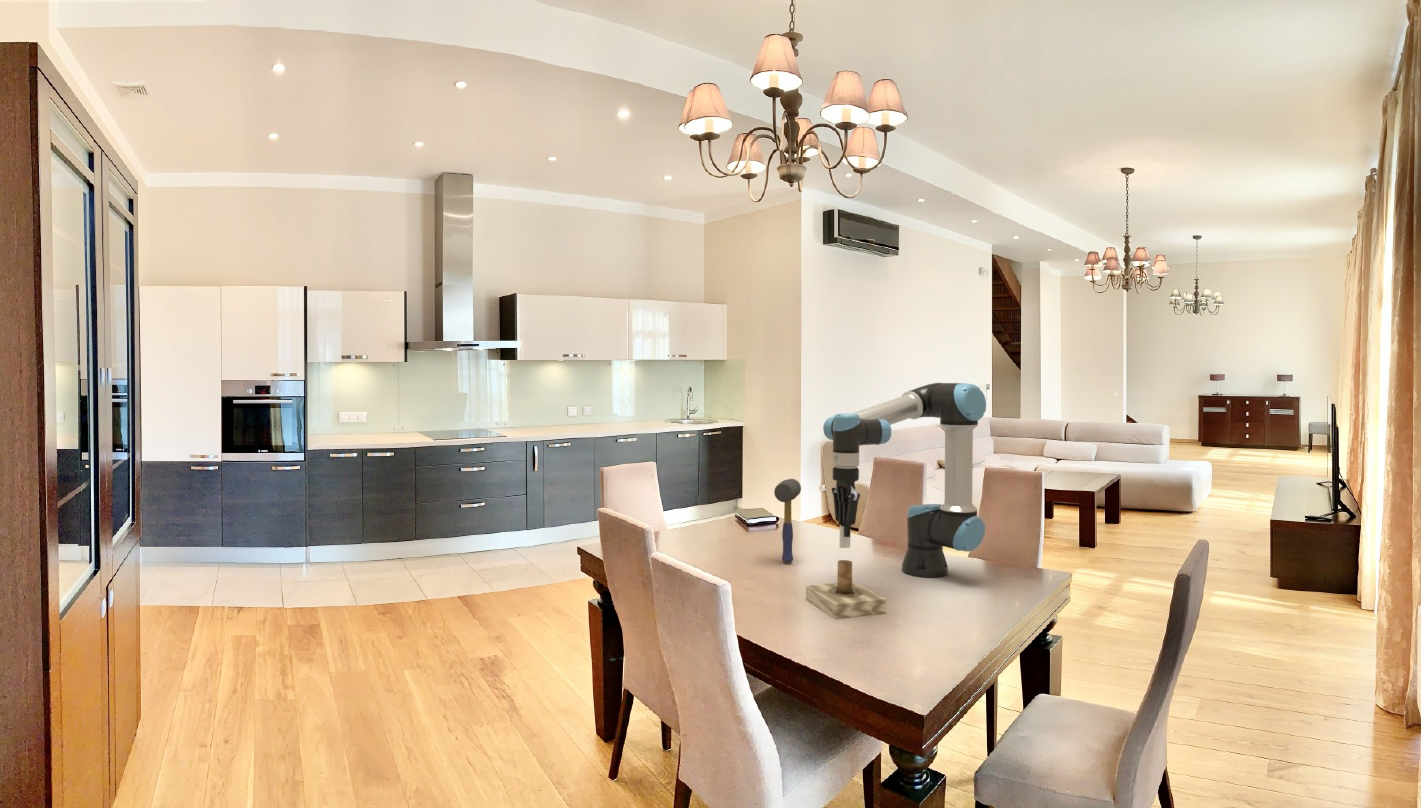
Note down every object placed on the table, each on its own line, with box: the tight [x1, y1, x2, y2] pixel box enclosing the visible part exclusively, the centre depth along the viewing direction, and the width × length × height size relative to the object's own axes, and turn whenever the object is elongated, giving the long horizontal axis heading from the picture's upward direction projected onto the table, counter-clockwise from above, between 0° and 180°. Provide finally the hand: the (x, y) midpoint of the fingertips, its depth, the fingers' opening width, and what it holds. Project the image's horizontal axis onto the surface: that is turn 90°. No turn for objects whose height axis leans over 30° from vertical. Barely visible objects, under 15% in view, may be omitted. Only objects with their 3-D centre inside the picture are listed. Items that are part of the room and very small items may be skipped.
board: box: [805, 580, 887, 619], centre depth 223 cm, size 16×19×4 cm
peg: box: [836, 559, 853, 595], centre depth 222 cm, size 4×4×13 cm
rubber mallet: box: [773, 478, 802, 565], centre depth 271 cm, size 12×8×30 cm, turn 159°
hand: (844, 547), depth 222 cm, fingers closed
